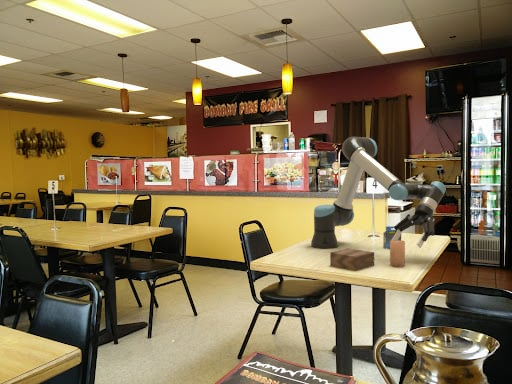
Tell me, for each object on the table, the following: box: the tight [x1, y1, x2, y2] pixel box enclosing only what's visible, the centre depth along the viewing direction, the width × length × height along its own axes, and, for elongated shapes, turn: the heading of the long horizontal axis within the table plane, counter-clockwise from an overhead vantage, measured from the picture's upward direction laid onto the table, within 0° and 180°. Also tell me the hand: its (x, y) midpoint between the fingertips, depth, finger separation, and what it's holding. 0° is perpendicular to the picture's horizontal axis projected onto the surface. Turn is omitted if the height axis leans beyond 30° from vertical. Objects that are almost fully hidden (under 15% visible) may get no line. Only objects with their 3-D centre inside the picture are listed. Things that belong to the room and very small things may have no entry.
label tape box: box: [383, 225, 402, 249], centre depth 230 cm, size 9×4×12 cm, turn 92°
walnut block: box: [329, 248, 375, 272], centre depth 188 cm, size 14×14×6 cm
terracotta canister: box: [389, 239, 406, 268], centre depth 188 cm, size 6×6×11 cm
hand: (405, 244), depth 189 cm, fingers open, 13 cm apart
